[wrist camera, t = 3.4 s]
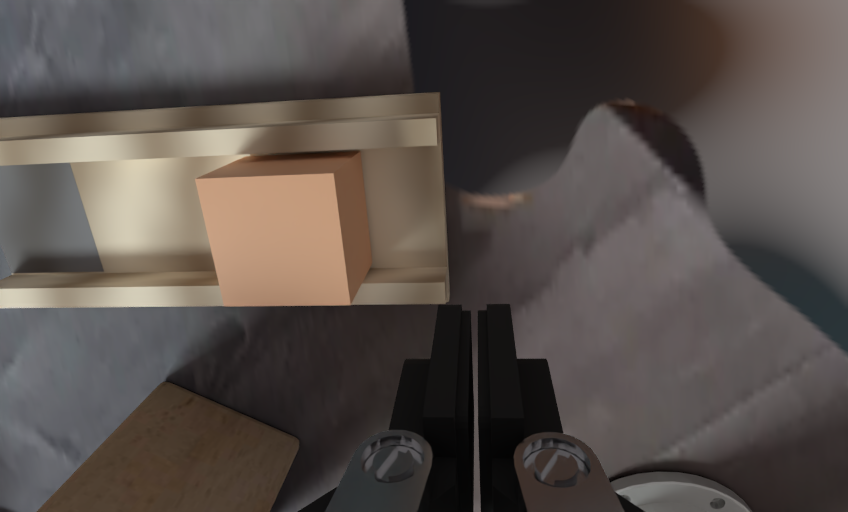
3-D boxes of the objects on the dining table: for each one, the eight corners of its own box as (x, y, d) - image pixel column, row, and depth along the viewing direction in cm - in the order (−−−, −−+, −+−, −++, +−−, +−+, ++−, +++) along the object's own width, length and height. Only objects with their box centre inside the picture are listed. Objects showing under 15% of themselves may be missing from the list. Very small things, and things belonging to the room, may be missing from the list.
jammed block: (360, 151, 25) (333, 173, 21) (372, 262, 28) (350, 305, 23) (245, 156, 26) (194, 178, 22) (266, 264, 28) (224, 306, 24)
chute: (439, 91, 25) (434, 96, 22) (449, 294, 29) (446, 319, 26) (-30, 119, 28) (-86, 126, 26) (37, 298, 32) (-4, 322, 30)
